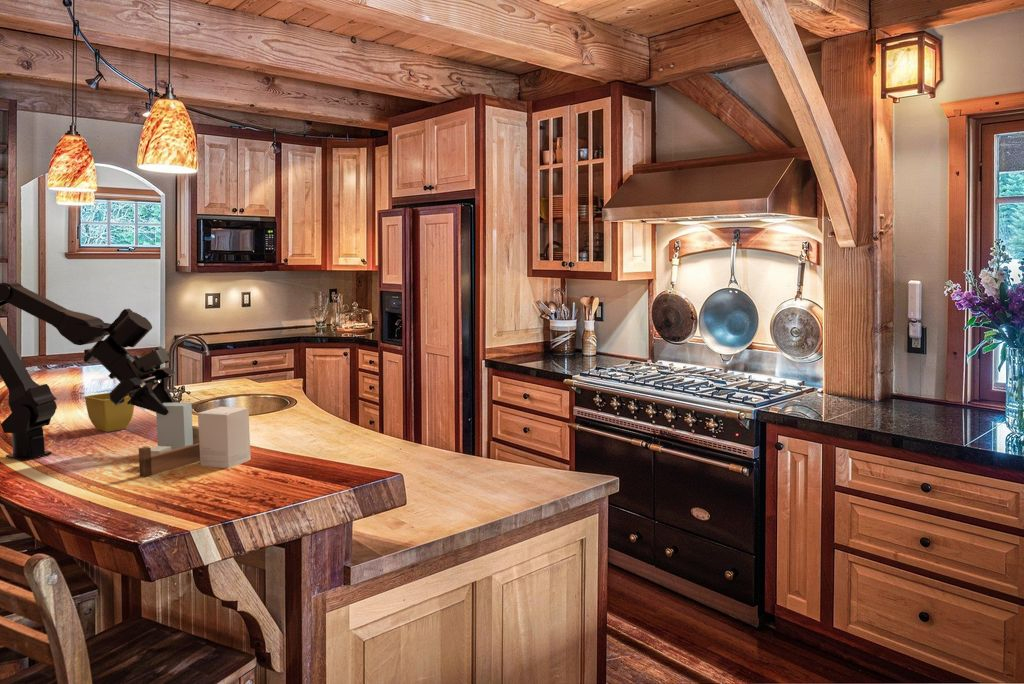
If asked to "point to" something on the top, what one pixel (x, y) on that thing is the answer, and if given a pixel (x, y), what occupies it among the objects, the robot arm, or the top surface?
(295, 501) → the top surface
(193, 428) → the frame
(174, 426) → the block
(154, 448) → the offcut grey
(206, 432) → the supplement box
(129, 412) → the flower pot
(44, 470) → the top surface
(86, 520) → the top surface
